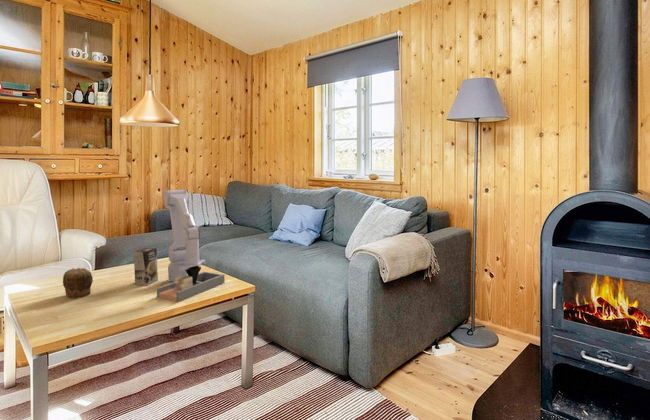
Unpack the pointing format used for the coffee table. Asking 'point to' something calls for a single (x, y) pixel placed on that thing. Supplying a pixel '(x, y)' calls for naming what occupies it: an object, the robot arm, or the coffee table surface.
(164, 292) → the tray
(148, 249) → the coffee box
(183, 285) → the cream block
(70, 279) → the dark brown rounded lump
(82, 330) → the coffee table surface
